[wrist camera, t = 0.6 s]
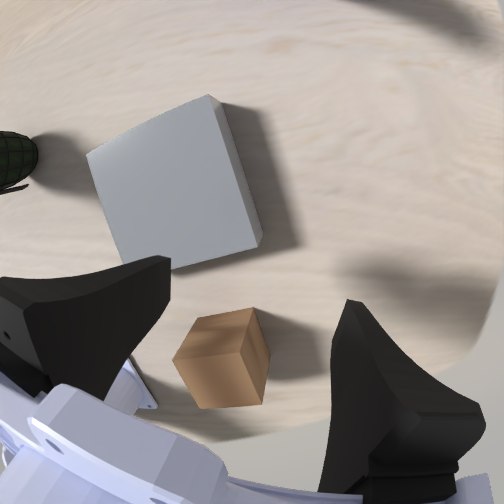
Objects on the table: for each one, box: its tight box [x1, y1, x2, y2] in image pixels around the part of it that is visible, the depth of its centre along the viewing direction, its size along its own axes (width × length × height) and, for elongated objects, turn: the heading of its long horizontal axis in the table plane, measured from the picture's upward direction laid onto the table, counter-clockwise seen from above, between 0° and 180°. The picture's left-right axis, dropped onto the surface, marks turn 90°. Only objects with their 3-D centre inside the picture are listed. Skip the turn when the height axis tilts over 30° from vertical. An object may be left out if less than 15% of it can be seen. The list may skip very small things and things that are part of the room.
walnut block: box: [172, 307, 270, 409], centre depth 22 cm, size 5×5×6 cm
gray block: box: [86, 94, 263, 270], centre depth 20 cm, size 10×10×4 cm
